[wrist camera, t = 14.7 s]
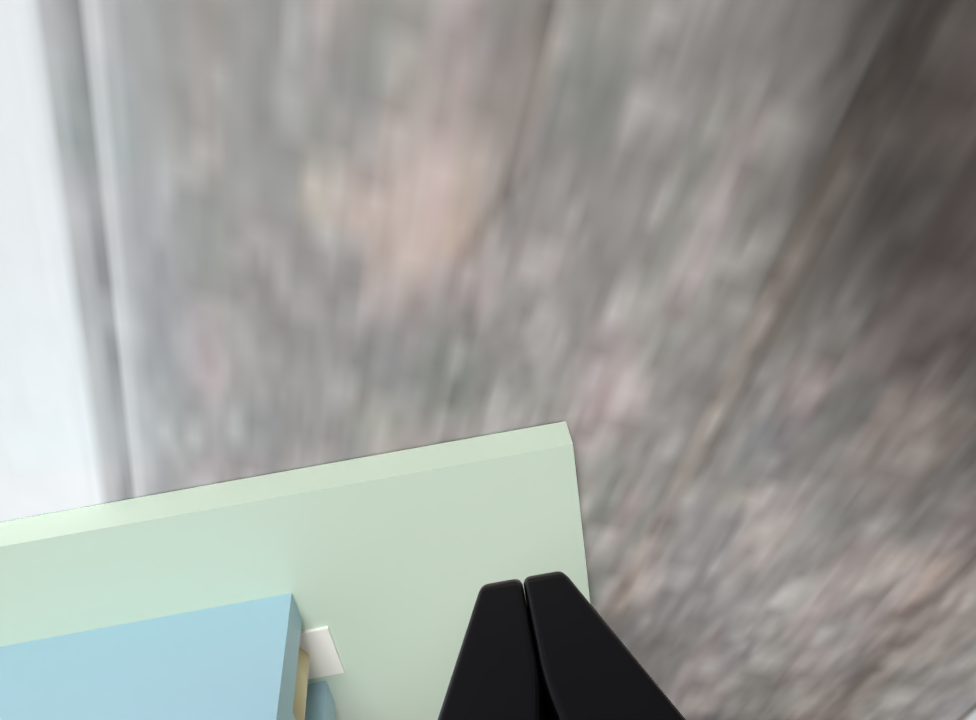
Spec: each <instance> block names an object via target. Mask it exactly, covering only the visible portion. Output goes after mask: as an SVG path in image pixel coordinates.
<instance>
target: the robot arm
mask: <svg viewBox="0 0 976 720" xmlns="http://www.w3.org/2000/svg"><path fill="white" fill-rule="evenodd" d="M524 592H525V593H524ZM437 720H685V718H684V717H683V716H682V715H681V714H680V712H679V711H678V710H677V709H676V707H675V706H674V705H673V704H672V703H671V701H670V700H669V699H668V698H667V696H666V695H665V694H664V693H663V692H662V690H661V689H660V688H659V687H658V686H657V684H656V683H655V682H654V681H653V679H652V678H651V677H650V676H649V675H648V673H647V672H646V671H645V670H644V668H643V667H642V666H641V665H640V664H639V662H638V661H637V660H636V659H635V658H634V656H633V655H632V654H631V653H630V651H629V650H628V649H627V648H626V647H625V645H624V644H623V643H622V642H621V640H620V639H619V638H618V637H617V636H616V634H615V633H614V632H613V631H612V630H611V628H610V627H609V626H608V625H607V623H606V622H605V621H604V620H603V619H602V617H601V616H600V615H599V614H598V612H597V611H596V610H595V609H594V608H593V606H592V605H591V604H590V603H589V602H588V600H587V599H586V598H585V597H584V595H583V594H582V593H581V592H580V591H579V589H578V588H577V587H576V586H575V584H574V583H573V582H572V581H571V580H570V578H569V577H568V576H567V575H566V574H564V573H563V572H560V571H555V572H550V573H544V574H539V575H533V576H529V577H527V578H526V579H525V580H524V588H523V584H522V582H521V581H520V580H518V579H511V580H506V581H500V582H495V583H489V584H486V585H484V586H482V587H481V589H480V591H479V593H478V596H477V599H476V602H475V605H474V608H473V611H472V614H471V617H470V620H469V623H468V627H467V630H466V633H465V636H464V639H463V642H462V645H461V648H460V651H459V654H458V657H457V661H456V664H455V667H454V670H453V673H452V676H451V679H450V682H449V685H448V688H447V691H446V695H445V698H444V701H443V704H442V707H441V710H440V713H439V716H438V719H437Z"/></svg>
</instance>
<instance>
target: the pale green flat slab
mask: <svg viewBox="0 0 976 720" xmlns="http://www.w3.org/2000/svg"><path fill="white" fill-rule="evenodd" d="M555 571H560V572H563V573H564V574H566V575H567V576H568V577H569V578H570V580H571V581H572V582H573V583H574V584H575V586H576V587H577V588H578V589H579V591H580V592H581V593H582V594H583V595H584V597H585V598H586V599H587V600H588V602H589V603H590V596H589V587H588V577H587V568H586V559H585V550H584V541H583V532H582V523H581V514H580V504H579V495H578V486H577V477H576V468H575V459H574V450H573V443H572V440H571V436H570V433H569V430H568V427H567V424H566V421H564V422H559V423H553V424H547V425H542V426H536V427H531V428H525V429H519V430H514V431H508V432H503V433H497V434H492V435H486V436H480V437H475V438H469V439H464V440H458V441H452V442H447V443H441V444H436V445H430V446H424V447H419V448H413V449H408V450H402V451H396V452H391V453H385V454H380V455H374V456H368V457H363V458H357V459H352V460H346V461H341V462H335V463H329V464H324V465H318V466H313V467H307V468H301V469H296V470H290V471H285V472H279V473H273V474H268V475H262V476H257V477H251V478H245V479H240V480H234V481H229V482H223V483H217V484H212V485H206V486H201V487H195V488H189V489H184V490H178V491H173V492H167V493H162V494H156V495H150V496H145V497H139V498H134V499H128V500H122V501H117V502H111V503H106V504H100V505H94V506H89V507H83V508H78V509H72V510H66V511H61V512H55V513H50V514H44V515H38V516H33V517H27V518H22V519H16V520H11V521H5V522H0V647H1V646H7V645H12V644H18V643H23V642H28V641H34V640H39V639H45V638H50V637H56V636H61V635H66V634H72V633H77V632H83V631H88V630H94V629H99V628H104V627H110V626H115V625H121V624H126V623H132V622H137V621H142V620H148V619H153V618H159V617H164V616H169V615H175V614H180V613H186V612H191V611H197V610H202V609H207V608H213V607H218V606H224V605H229V604H235V603H240V602H245V601H251V600H256V599H262V598H267V597H273V596H278V595H283V594H289V593H292V595H293V598H294V600H295V603H296V605H297V608H298V610H299V613H300V615H301V618H302V625H301V635H300V644H299V654H298V664H297V673H296V683H295V692H294V702H293V711H292V712H293V715H294V717H295V719H296V720H305V709H306V697H307V686H308V684H313V683H318V682H323V681H327V683H328V686H329V689H330V691H331V694H332V696H333V699H334V701H335V717H334V720H437V719H438V716H439V713H440V710H441V707H442V704H443V701H444V698H445V695H446V691H447V688H448V685H449V682H450V679H451V676H452V673H453V670H454V667H455V664H456V661H457V657H458V654H459V651H460V648H461V645H462V642H463V639H464V636H465V633H466V630H467V627H468V623H469V620H470V617H471V614H472V611H473V608H474V605H475V602H476V599H477V596H478V593H479V591H480V589H481V587H482V586H484V585H486V584H489V583H495V582H500V581H506V580H511V579H518V580H520V581H521V582H522V584H523V588H524V580H525V579H526V578H527V577H529V576H533V575H539V574H544V573H550V572H555ZM524 593H525V592H524Z"/></svg>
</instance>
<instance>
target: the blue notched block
mask: <svg viewBox="0 0 976 720" xmlns="http://www.w3.org/2000/svg"><path fill="white" fill-rule="evenodd" d="M301 625H302V618H301V615H300V613H299V610H298V608H297V605H296V603H295V600H294V598H293V595H292V593H289V594H283V595H278V596H273V597H267V598H262V599H256V600H251V601H245V602H240V603H235V604H229V605H224V606H218V607H213V608H207V609H202V610H197V611H191V612H186V613H180V614H175V615H169V616H164V617H159V618H153V619H148V620H142V621H137V622H132V623H126V624H121V625H115V626H110V627H104V628H99V629H94V630H88V631H83V632H77V633H72V634H66V635H61V636H56V637H50V638H45V639H39V640H34V641H28V642H23V643H18V644H12V645H7V646H1V647H0V720H296V719H295V717H294V715H293V712H292V711H293V702H294V692H295V683H296V673H297V664H298V654H299V644H300V635H301ZM334 717H335V701H334V699H333V696H332V694H331V691H330V689H329V686H328V683H327V681H323V682H318V683H313V684H308V686H307V697H306V709H305V720H334Z"/></svg>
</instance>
